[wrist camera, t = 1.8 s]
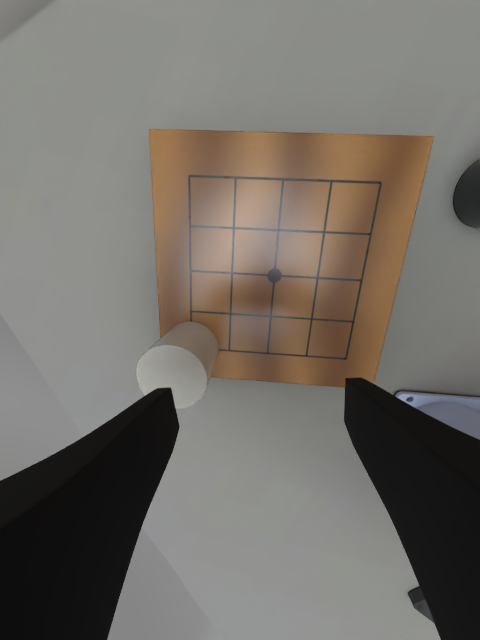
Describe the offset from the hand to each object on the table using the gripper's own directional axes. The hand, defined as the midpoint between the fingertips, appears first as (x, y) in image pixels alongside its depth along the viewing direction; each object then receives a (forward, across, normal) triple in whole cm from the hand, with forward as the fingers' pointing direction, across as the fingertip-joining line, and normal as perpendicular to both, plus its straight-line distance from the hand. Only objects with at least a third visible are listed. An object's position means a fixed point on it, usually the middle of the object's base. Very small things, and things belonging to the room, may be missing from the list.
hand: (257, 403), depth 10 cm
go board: (+10, -2, -4) cm, 11 cm away
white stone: (+8, +5, +1) cm, 10 cm away
